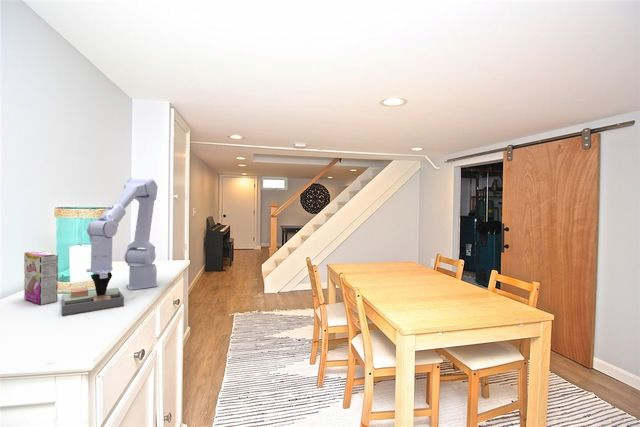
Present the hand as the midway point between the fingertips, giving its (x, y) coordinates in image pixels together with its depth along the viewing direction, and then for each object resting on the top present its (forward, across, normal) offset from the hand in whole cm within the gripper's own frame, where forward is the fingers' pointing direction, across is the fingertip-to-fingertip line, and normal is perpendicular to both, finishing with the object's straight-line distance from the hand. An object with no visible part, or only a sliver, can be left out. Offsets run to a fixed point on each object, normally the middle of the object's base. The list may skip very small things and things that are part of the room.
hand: (101, 295), depth 100 cm
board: (+3, -6, -2) cm, 7 cm away
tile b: (+1, -6, -6) cm, 8 cm away
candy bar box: (+3, -14, -15) cm, 21 cm away
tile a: (+2, +3, 0) cm, 4 cm away
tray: (+3, +3, -2) cm, 5 cm away
